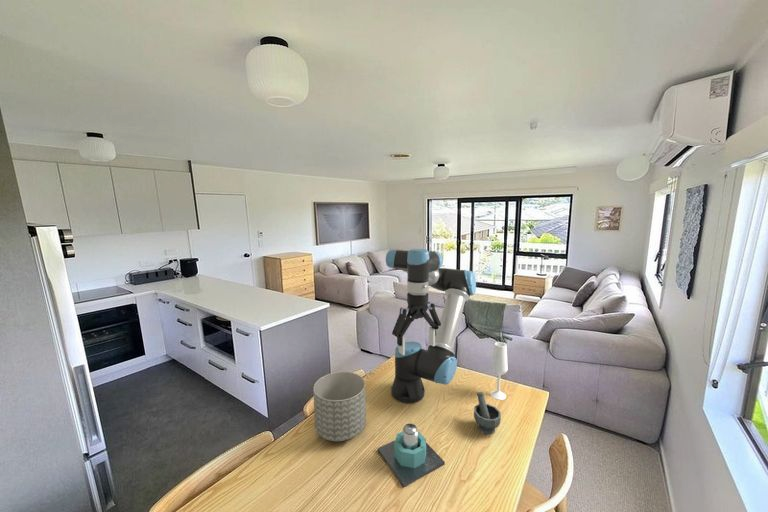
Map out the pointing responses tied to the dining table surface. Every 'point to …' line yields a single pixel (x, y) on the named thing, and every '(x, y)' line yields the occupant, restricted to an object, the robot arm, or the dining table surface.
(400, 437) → the ring
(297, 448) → the dining table surface
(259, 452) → the dining table surface
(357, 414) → the planter
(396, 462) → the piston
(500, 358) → the champagne flute
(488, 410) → the mortar and pestle
